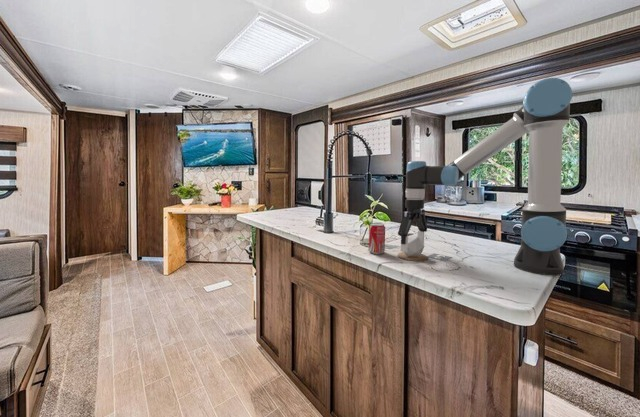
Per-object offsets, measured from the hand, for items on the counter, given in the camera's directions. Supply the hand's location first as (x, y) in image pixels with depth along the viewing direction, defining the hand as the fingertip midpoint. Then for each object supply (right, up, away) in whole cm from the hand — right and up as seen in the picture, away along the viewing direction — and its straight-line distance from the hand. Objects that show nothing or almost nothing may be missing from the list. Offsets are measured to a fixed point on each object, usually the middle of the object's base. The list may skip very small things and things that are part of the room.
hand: (412, 248), depth 125 cm
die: (0, -3, 0) cm, 3 cm away
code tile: (+11, -4, 0) cm, 12 cm away
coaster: (0, -4, 0) cm, 4 cm away
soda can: (-14, -3, +7) cm, 16 cm away
